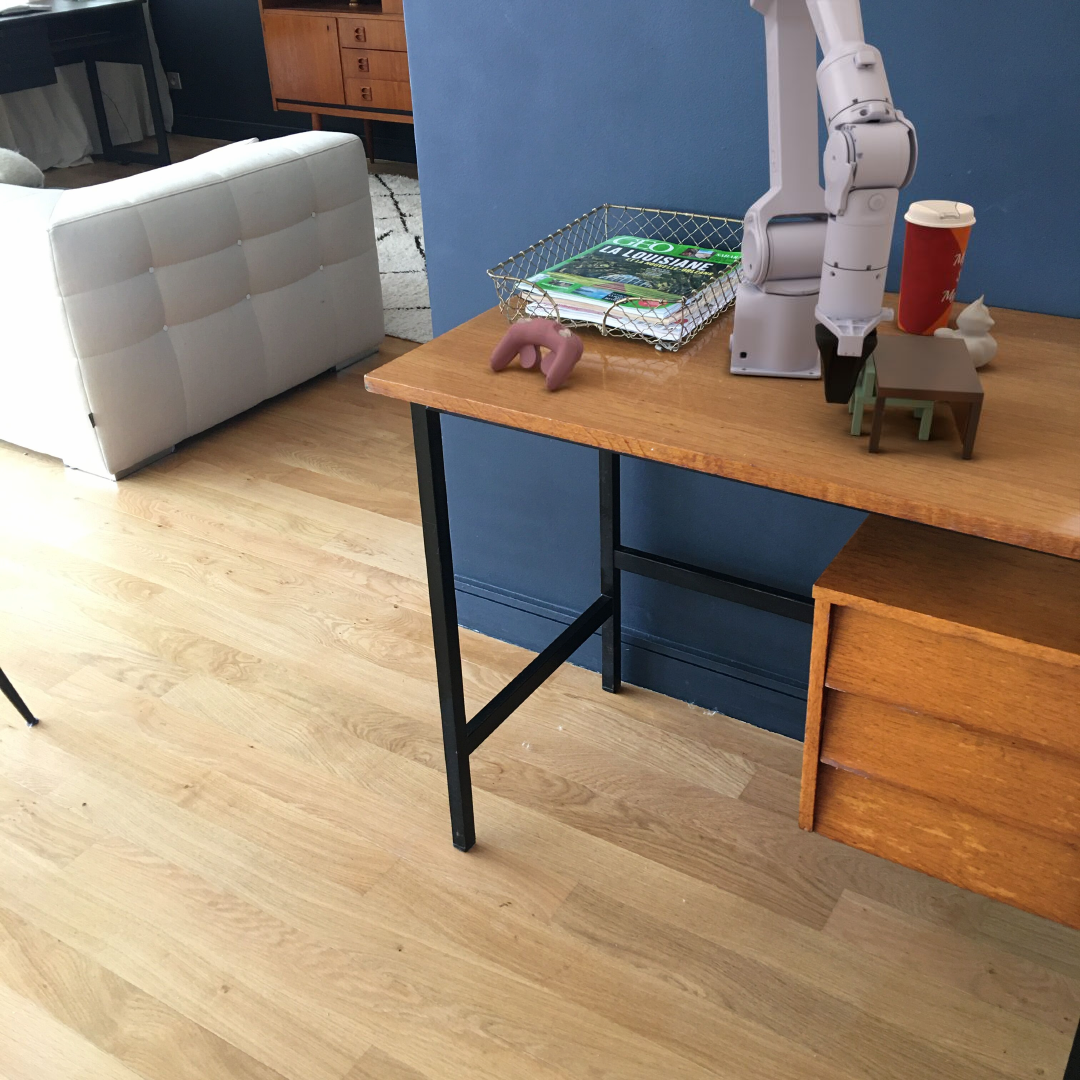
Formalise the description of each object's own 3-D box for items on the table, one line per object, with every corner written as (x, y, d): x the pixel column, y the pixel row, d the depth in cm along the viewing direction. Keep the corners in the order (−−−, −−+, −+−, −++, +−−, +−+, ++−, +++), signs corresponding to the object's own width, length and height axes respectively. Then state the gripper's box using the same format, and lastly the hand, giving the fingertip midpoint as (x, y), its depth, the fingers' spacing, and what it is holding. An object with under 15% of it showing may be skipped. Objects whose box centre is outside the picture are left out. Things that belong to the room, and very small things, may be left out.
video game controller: (576, 397, 117) (595, 333, 116) (550, 390, 113) (570, 324, 112) (509, 374, 123) (528, 313, 122) (483, 367, 119) (501, 304, 118)
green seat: (851, 435, 104) (860, 371, 101) (848, 410, 109) (857, 349, 106) (928, 440, 103) (939, 376, 100) (921, 414, 108) (932, 353, 105)
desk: (868, 452, 101) (878, 386, 98) (860, 394, 113) (869, 333, 109) (971, 459, 99) (984, 392, 96) (952, 399, 111) (964, 338, 108)
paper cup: (964, 337, 126) (987, 214, 119) (897, 338, 127) (916, 215, 119) (944, 315, 133) (964, 198, 126) (880, 316, 133) (897, 198, 126)
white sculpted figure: (993, 377, 116) (1008, 303, 112) (927, 370, 118) (940, 298, 114) (993, 359, 120) (1007, 288, 116) (930, 353, 122) (942, 282, 118)
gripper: (907, 288, 93) (884, 434, 99) (895, 242, 105) (875, 375, 112) (822, 284, 94) (804, 429, 101) (819, 239, 106) (804, 371, 113)
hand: (836, 400), depth 106 cm, fingers closed, pressing on green seat
